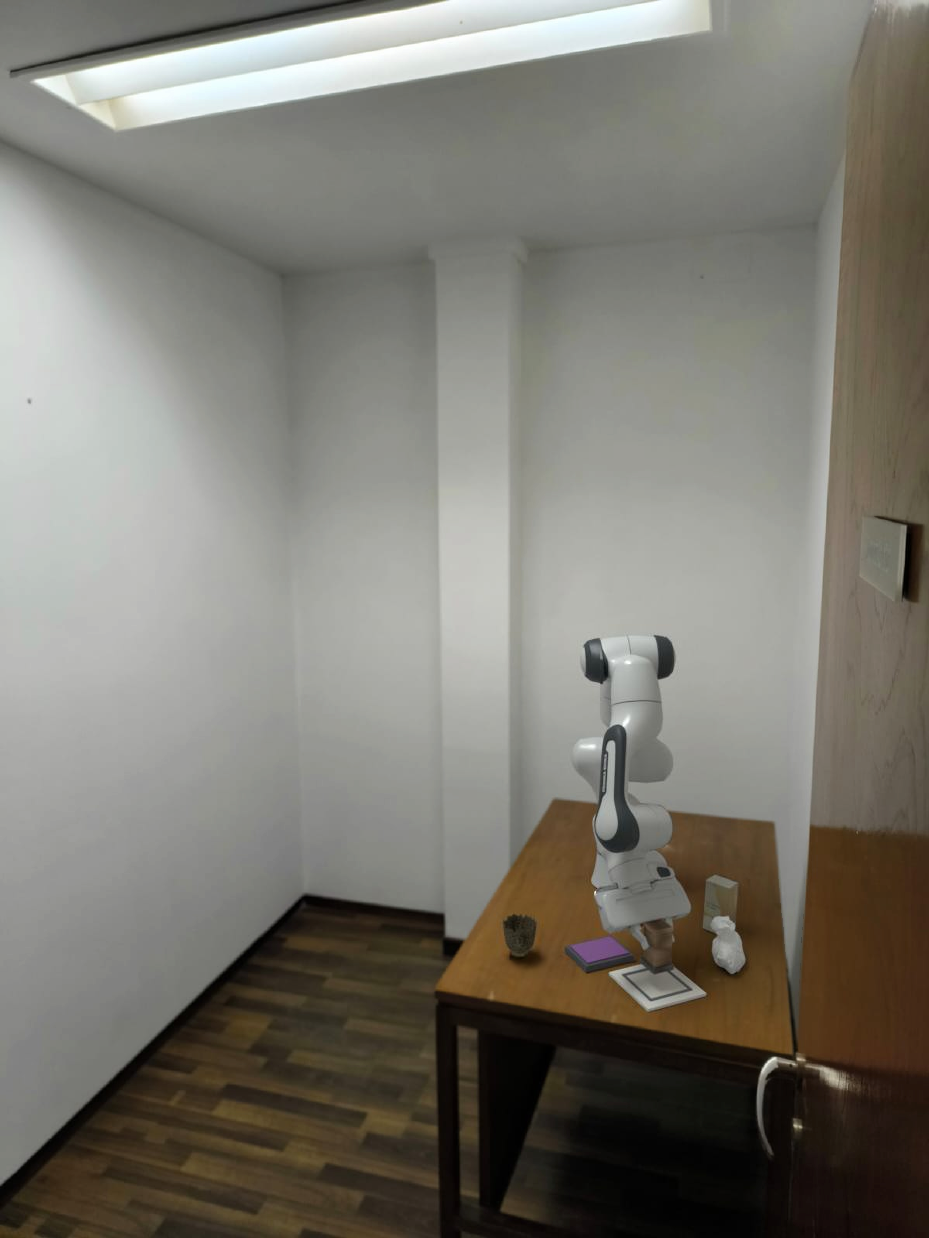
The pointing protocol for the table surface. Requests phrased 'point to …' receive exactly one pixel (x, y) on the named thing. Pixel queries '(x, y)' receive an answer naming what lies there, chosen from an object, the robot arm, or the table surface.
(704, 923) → the skincare box
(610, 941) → the ink pad
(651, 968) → the stamp
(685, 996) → the print card
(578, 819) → the table surface
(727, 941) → the bust
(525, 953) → the cup
